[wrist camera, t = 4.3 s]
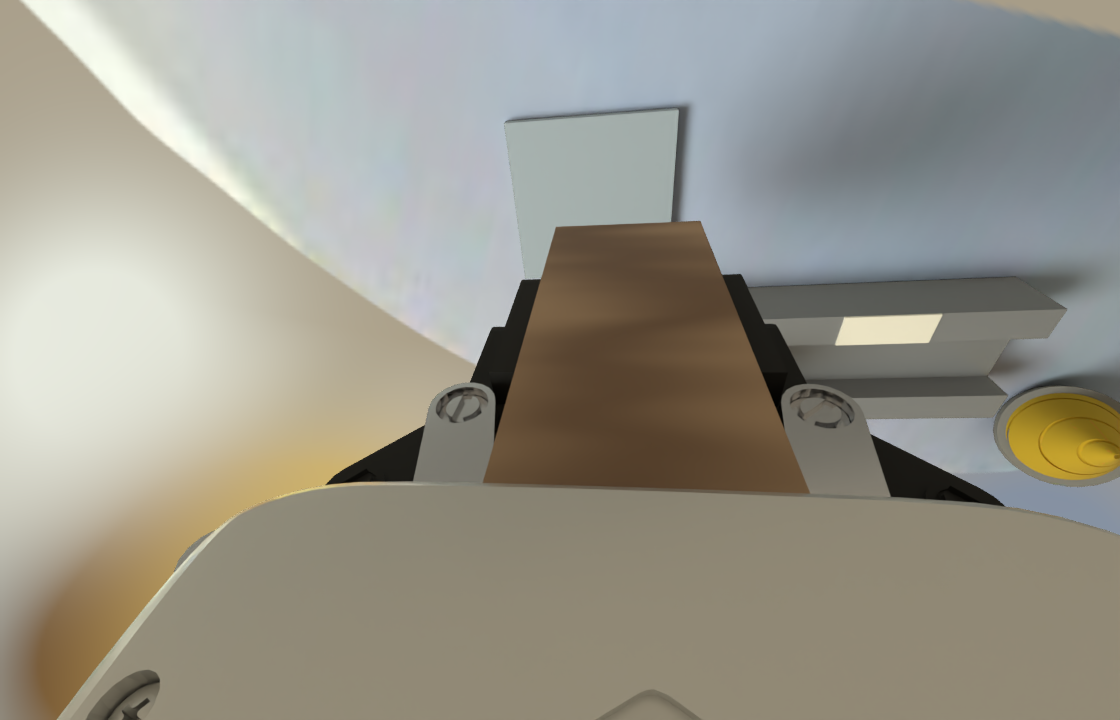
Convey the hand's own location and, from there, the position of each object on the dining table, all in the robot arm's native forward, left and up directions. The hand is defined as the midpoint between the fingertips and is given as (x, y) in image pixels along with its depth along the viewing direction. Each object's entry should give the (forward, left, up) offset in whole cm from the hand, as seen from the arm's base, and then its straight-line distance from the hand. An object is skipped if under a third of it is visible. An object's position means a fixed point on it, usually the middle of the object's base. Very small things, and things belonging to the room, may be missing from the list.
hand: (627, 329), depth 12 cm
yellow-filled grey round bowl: (-23, +13, -11) cm, 29 cm away
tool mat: (+1, 0, -11) cm, 11 cm away
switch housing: (-10, +8, -11) cm, 17 cm away
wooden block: (0, 0, -2) cm, 2 cm away
